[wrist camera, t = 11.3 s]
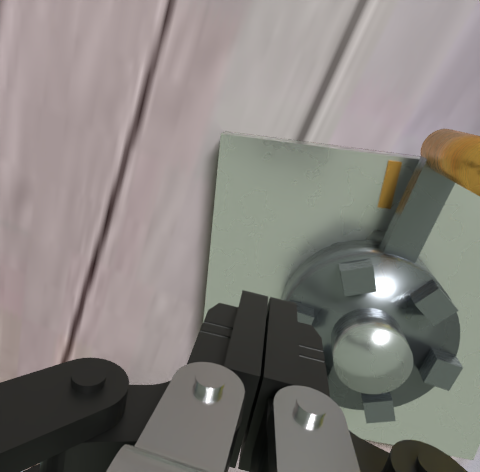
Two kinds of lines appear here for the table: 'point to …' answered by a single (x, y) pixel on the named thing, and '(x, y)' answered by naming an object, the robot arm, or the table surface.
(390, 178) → the base plate
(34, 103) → the table surface
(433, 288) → the chuck with crank handle
